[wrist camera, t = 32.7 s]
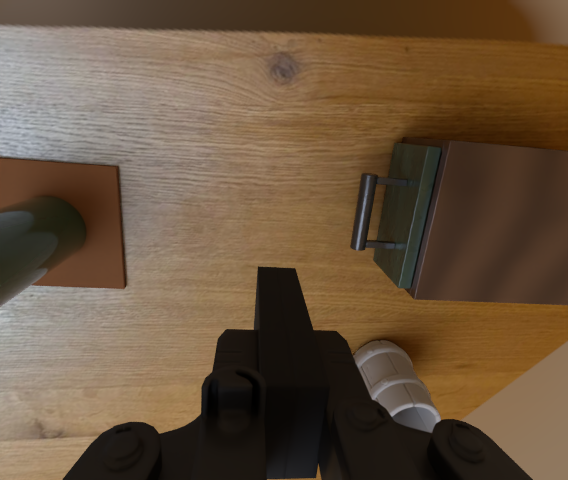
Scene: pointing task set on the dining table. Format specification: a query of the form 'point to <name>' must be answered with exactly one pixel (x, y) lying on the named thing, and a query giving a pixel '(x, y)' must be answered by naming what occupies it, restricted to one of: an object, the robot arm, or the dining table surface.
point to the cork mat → (88, 202)
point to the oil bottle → (36, 241)
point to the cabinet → (495, 225)
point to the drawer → (398, 210)
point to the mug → (396, 385)
